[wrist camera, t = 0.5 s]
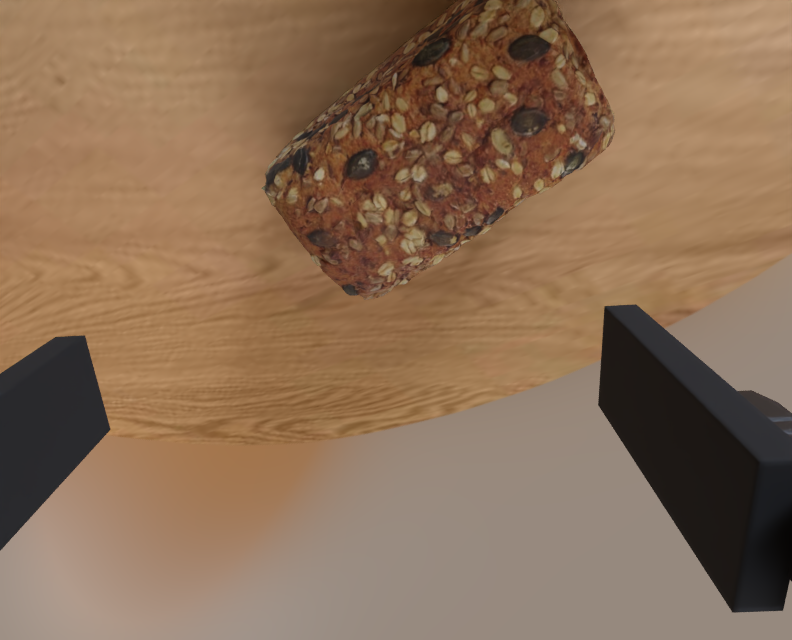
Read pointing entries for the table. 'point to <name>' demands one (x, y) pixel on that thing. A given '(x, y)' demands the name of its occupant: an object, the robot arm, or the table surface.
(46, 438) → the robot arm
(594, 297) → the table surface
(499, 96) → the bread
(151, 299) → the table surface
